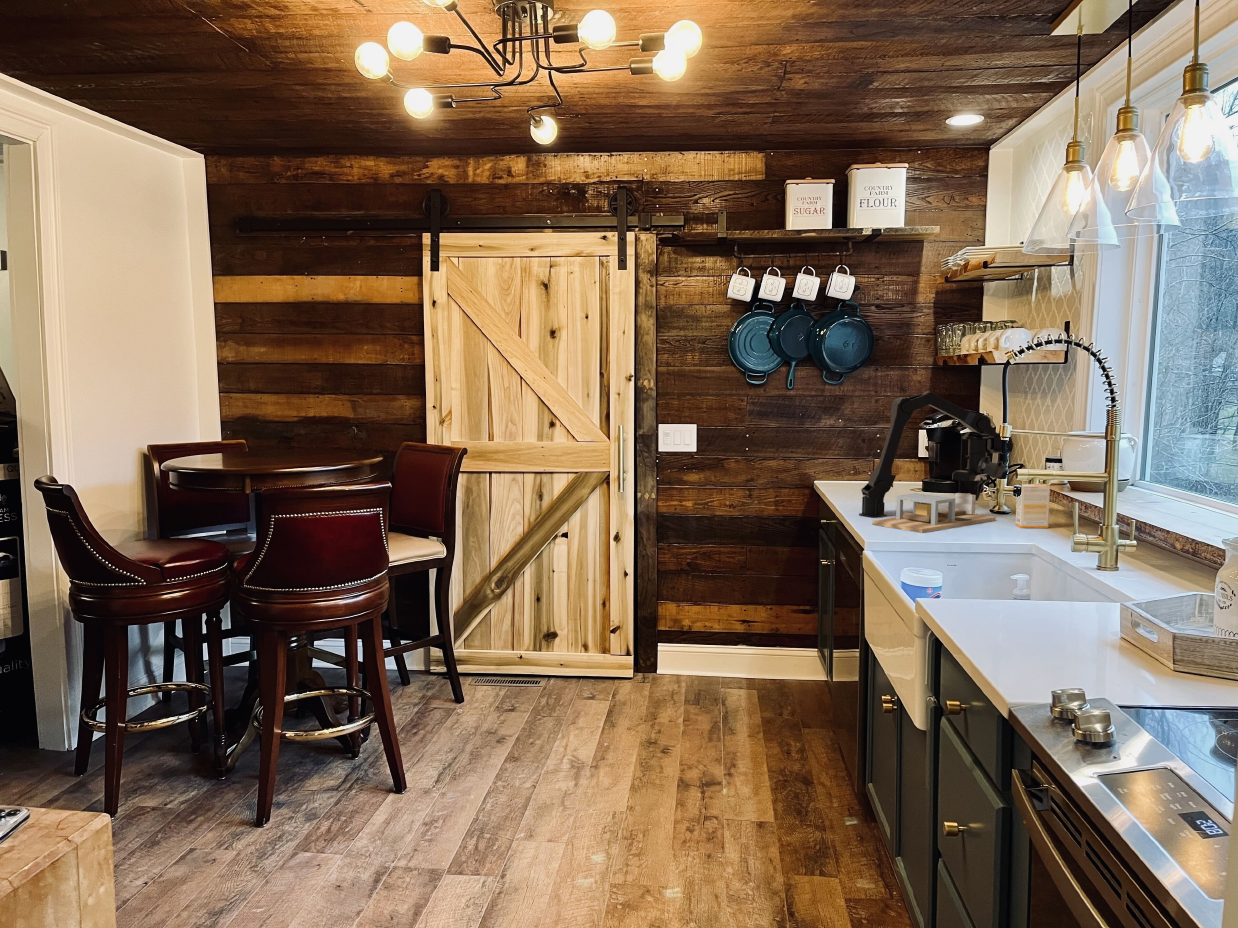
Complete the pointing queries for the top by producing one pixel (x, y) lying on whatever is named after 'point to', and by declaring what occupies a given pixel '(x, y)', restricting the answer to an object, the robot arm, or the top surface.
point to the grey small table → (926, 499)
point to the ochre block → (923, 509)
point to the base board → (928, 527)
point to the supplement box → (1033, 506)
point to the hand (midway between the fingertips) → (975, 500)
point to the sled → (962, 506)
